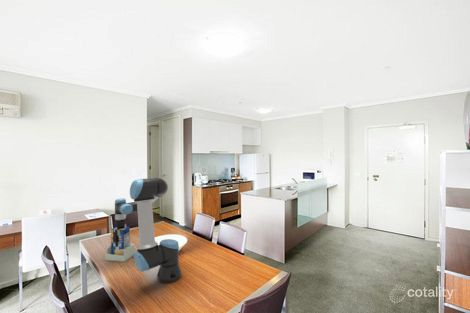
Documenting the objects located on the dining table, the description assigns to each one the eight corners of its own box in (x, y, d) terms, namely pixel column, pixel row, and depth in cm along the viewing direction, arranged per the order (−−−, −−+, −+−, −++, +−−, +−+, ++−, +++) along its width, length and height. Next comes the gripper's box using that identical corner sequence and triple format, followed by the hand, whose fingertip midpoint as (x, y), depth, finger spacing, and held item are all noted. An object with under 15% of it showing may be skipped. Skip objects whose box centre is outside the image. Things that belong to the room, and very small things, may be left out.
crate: (134, 254, 169) (134, 243, 169) (123, 262, 157) (123, 250, 157) (117, 252, 172) (117, 241, 172) (105, 260, 159) (105, 248, 159)
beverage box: (124, 259, 160) (123, 229, 160) (111, 257, 162) (110, 229, 162) (129, 254, 167) (129, 226, 167) (117, 253, 168) (117, 226, 168)
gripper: (124, 215, 174) (124, 243, 174) (107, 222, 156) (107, 253, 156) (132, 215, 172) (132, 244, 173) (116, 222, 154) (116, 254, 154)
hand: (120, 248), depth 164 cm, fingers open, 5 cm apart
